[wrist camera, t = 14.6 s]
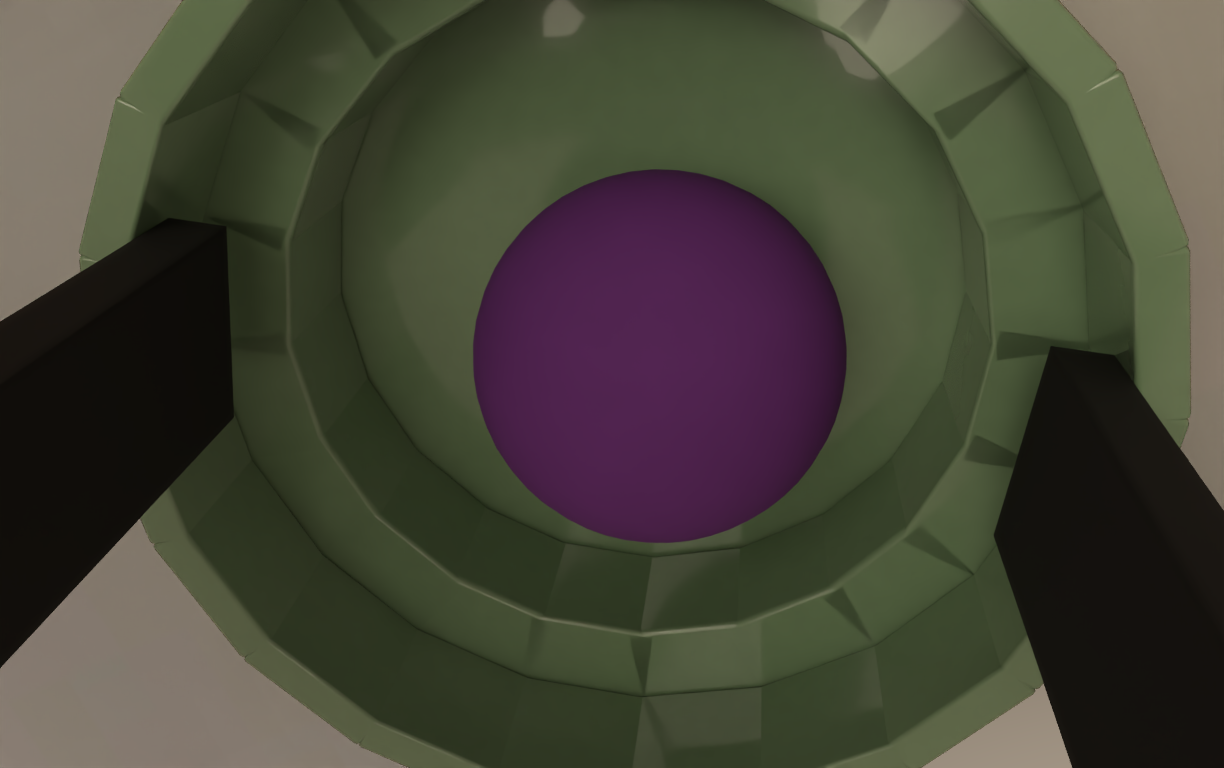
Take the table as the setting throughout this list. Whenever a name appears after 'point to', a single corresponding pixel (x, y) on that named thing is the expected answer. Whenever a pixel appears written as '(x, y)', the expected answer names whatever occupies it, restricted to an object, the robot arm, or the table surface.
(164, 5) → the table surface
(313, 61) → the bowl
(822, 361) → the ball
